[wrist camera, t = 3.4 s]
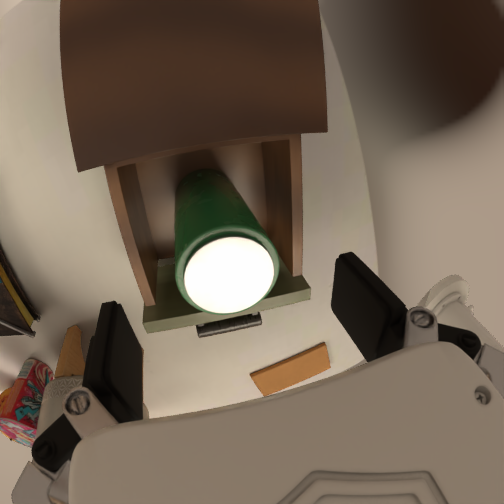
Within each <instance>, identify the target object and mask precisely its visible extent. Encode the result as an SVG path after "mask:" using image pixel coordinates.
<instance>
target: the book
mask: <svg viewBox="0 0 504 504" xmlns="http://www.w3.org/2000/svg"><path fill="white" fill-rule="evenodd" d="M40 318H41V316H40V315H37V314H36V312H35V311H34V309H33V308H32V306H31V305H30V303H29V302H28V300H27V298H26V297H25V295H24V294H23V292H22V290H21V289H20V287H19V285H18V283H17V281H16V279H15V278H14V276H13V274H12V272H11V270H10V268H9V266H8V264H7V262H6V260H5V258H4V256H3V254H2V252H1V249H0V336H12V335H27V336H30V337H32V338H34V337H35V334H36V332H35V331H32V329H31V328H30V327H31V325H32V323H33V320H37V322H39V320H40Z"/></svg>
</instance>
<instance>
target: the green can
mask: <svg viewBox="0 0 504 504" xmlns="http://www.w3.org/2000/svg"><path fill="white" fill-rule="evenodd" d="M174 245H175V280H176V284H177V287H178V290H179V292H180V293H181V295H182V296H183V298H184V299H185V300H186V301H187V302H188V303H189V304H190V305H192V306H193V307H195V308H196V309H198V310H200V311H203V312H206V313H209V314H215V315H229V314H235V313H239V312H242V311H245V310H247V309H249V308H251V307H253V306H255V305H256V304H258V303H259V302H261V301H262V300H263V299H264V298H265V297H266V296H267V295H268V294H269V293H270V291H271V290H272V288H273V287H274V285H275V283H276V281H277V278H278V274H279V268H280V262H279V256H278V252H277V250H276V248H275V246H274V244H273V243H272V241H271V240H270V238H269V237H268V235H267V234H266V232H265V231H264V229H263V228H262V226H261V225H260V223H259V222H258V220H257V219H256V217H255V216H254V214H253V213H252V211H251V210H250V208H249V207H248V205H247V204H246V202H245V201H244V199H243V198H242V196H241V195H240V193H239V192H238V190H237V189H236V187H235V186H234V184H233V183H232V181H231V180H230V179H229V178H228V177H227V176H226V175H225V174H224V173H222V172H220V171H218V170H215V169H206V168H205V169H199V170H196V171H193V172H191V173H189V174H188V175H186V176H185V177H184V178H183V179H182V180H181V182H180V183H179V185H178V187H177V189H176V192H175V211H174Z"/></svg>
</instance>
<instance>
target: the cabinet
mask: <svg viewBox="0 0 504 504" xmlns="http://www.w3.org/2000/svg"><path fill="white" fill-rule="evenodd" d="M60 53H61V69H62V80H63V90H64V98H65V106H66V113H67V119H68V126H69V131H70V137H71V142H72V147H73V152H74V157H75V161H76V166H77V170H78V172H82V171H85V170H88V169H92V168H96V167H99V166H103V165H107V164H110V163H114V162H118V161H122V160H126V159H131V158H135V157H139V156H144V155H148V154H153V153H158V152H163V151H168V150H173V149H178V148H184V147H189V146H195V145H201V144H208V143H215V142H222V141H229V140H237V139H245V138H254V137H264V136H275V135H287V134H302V133H324V132H328V125H327V97H326V79H325V64H324V51H323V40H322V30H321V21H320V12H319V4H318V0H61V1H60Z"/></svg>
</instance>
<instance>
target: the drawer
mask: <svg viewBox="0 0 504 504" xmlns="http://www.w3.org/2000/svg"><path fill="white" fill-rule="evenodd" d="M205 168H206V169H215V170H218V171H220V172H222V173H224V174H225V175H226V176H227V177H228V178H229V179H230V180H231V181H232V183H233V184H234V186H235V187H236V189H237V190H238V192H239V193H240V195H241V196H242V198H243V199H244V201H245V202H246V204H247V205H248V207H249V208H250V210H251V211H252V213H253V214H254V216H255V217H256V219H257V220H258V222H259V223H260V225H261V226H262V228H263V229H264V231H265V232H266V234H267V235H268V237H269V238H270V240H271V241H272V243H273V244H274V246H275V248H276V250H277V252H278V256H279V262H280V268H279V274H278V278H277V281H276V283H275V285H274V287H273V288H272V290H271V291H270V293H269V294H268V295H267V296H266V297H265V298H264V299H263V300H262V301H261V302H259V303H258V304H256V305H255V306H253V307H251V308H249V309H247V310H245V311H242V312H239V313H235V314H229V315H215V314H209V313H206V312H203V311H200V310H198V309H196V308H195V307H193V306H192V305H190V304H189V303H188V302H187V301H186V300H185V299H184V298H183V296H182V295H181V293H180V292H179V290H178V287H177V284H176V280H175V264H170V265H165V266H160V267H158V260H160V259H165V258H170V257H175V245H174V211H175V192H176V189H177V187H178V185H179V183H180V182H181V180H182V179H183V178H184V177H185V176H186V175H188V174H189V173H191V172H193V171H196V170H199V169H205ZM104 169H105V174H106V178H107V182H108V187H109V191H110V195H111V199H112V203H113V206H114V210H115V214H116V217H117V221H118V225H119V228H120V231H121V235H122V238H123V241H124V245H125V248H126V251H127V254H128V257H129V260H130V263H131V266H132V269H133V272H134V275H135V278H136V281H137V284H138V287H139V289H140V292H141V295H142V297H143V300H144V310H143V325H144V328H145V330H146V332H147V333H154V332H159V331H165V330H171V329H177V328H182V327H187V326H193V325H196V329H197V333H198V337H199V338H202V337H207V336H212V335H217V334H222V333H227V332H231V331H236V330H241V329H245V328H250V327H254V326H258V325H261V324H262V319H261V315H260V311H264V310H268V309H273V308H277V307H281V306H285V305H289V304H293V303H297V302H301V301H305V300H309V299H310V295H311V287H310V286H309V285H308V283H307V282H306V280H305V279H304V277H303V276H302V250H303V199H302V153H301V134H287V135H275V136H264V137H254V138H245V139H237V140H229V141H222V142H215V143H208V144H201V145H195V146H189V147H184V148H178V149H173V150H168V151H163V152H158V153H153V154H148V155H144V156H139V157H135V158H131V159H126V160H122V161H118V162H114V163H110V164H107V165H104Z"/></svg>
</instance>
